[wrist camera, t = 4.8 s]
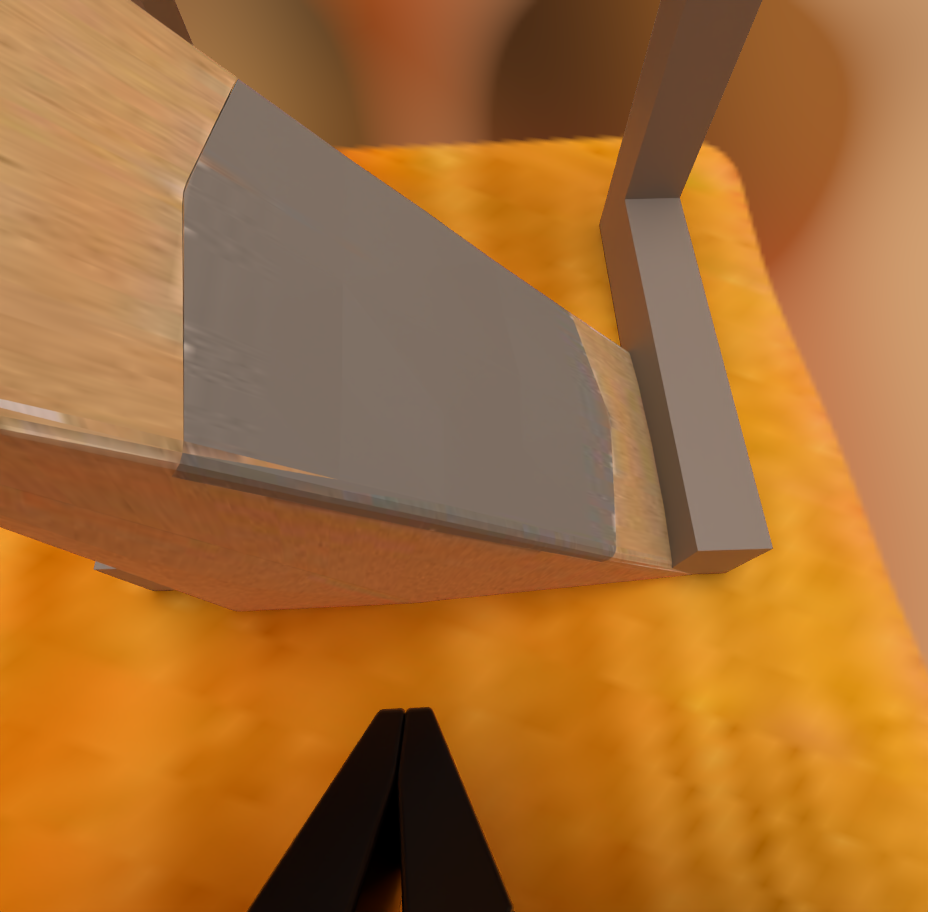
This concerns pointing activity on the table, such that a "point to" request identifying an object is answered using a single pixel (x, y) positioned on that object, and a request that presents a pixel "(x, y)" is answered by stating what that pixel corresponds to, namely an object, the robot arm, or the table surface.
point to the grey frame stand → (664, 287)
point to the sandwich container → (280, 353)
